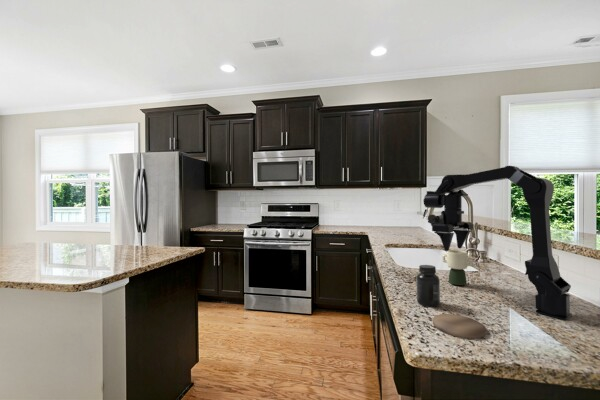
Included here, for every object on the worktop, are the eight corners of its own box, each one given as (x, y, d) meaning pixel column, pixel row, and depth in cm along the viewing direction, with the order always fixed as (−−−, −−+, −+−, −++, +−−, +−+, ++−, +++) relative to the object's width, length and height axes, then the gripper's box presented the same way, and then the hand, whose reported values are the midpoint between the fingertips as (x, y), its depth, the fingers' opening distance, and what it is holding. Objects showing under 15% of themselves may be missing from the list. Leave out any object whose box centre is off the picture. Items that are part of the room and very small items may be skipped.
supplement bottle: (435, 299, 90) (434, 264, 90) (443, 307, 84) (443, 269, 84) (413, 299, 91) (413, 263, 91) (420, 307, 84) (420, 268, 84)
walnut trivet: (495, 330, 69) (495, 326, 69) (471, 344, 62) (471, 339, 62) (447, 314, 79) (447, 310, 79) (423, 324, 72) (423, 320, 72)
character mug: (476, 285, 105) (475, 252, 105) (470, 289, 100) (469, 254, 100) (446, 279, 113) (445, 248, 113) (439, 283, 108) (439, 250, 108)
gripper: (445, 207, 114) (445, 244, 114) (418, 208, 104) (418, 249, 104) (473, 207, 105) (474, 248, 105) (447, 209, 94) (448, 253, 94)
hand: (453, 249), depth 102 cm, fingers open, 9 cm apart
